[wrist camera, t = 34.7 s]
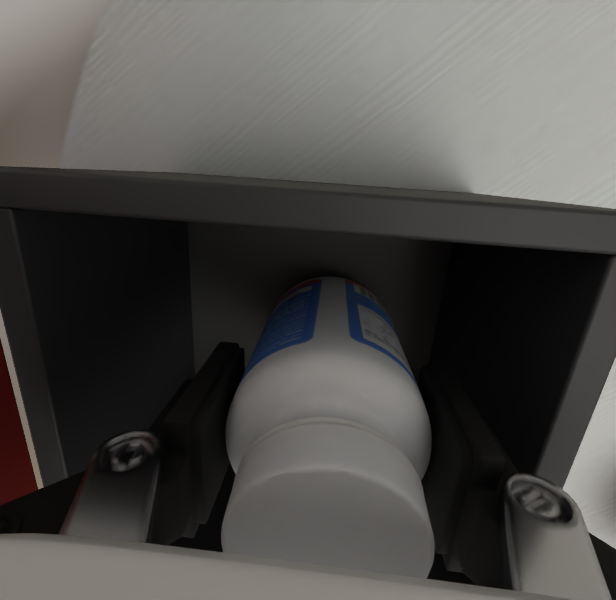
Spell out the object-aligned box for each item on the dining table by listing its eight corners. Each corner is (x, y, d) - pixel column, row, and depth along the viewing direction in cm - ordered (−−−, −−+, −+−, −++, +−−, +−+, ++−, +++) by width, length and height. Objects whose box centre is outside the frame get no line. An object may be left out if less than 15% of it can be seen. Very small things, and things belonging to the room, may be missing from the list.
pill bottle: (271, 381, 17) (189, 630, 8) (267, 272, 15) (153, 423, 6) (388, 387, 16) (451, 659, 7) (398, 275, 15) (500, 443, 5)
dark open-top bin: (474, 193, 16) (675, 215, 6) (424, 426, 20) (501, 645, 10) (175, 172, 16) (-37, 164, 7) (188, 401, 20) (66, 585, 11)
